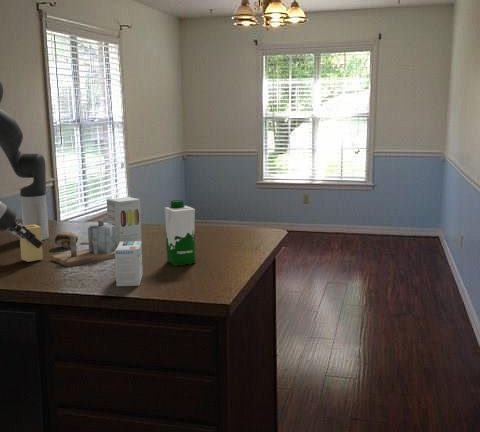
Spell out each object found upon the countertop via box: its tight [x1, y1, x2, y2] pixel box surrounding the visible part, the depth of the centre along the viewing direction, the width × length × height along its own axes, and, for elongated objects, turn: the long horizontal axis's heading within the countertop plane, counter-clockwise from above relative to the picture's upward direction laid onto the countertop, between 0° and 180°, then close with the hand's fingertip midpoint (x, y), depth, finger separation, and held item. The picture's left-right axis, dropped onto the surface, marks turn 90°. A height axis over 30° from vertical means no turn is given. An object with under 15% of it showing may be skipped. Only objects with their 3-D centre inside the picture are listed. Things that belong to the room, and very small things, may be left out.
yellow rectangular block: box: [19, 225, 44, 263], centre depth 188 cm, size 5×5×11 cm
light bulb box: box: [114, 240, 143, 287], centre depth 164 cm, size 11×7×11 cm, turn 5°
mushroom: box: [54, 231, 79, 249], centre depth 207 cm, size 8×8×6 cm
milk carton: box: [164, 199, 196, 267], centre depth 183 cm, size 9×9×20 cm
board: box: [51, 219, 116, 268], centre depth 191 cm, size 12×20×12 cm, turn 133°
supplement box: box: [106, 196, 142, 247], centre depth 212 cm, size 10×9×17 cm
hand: (36, 244), depth 189 cm, fingers closed on yellow rectangular block, 5 cm apart
